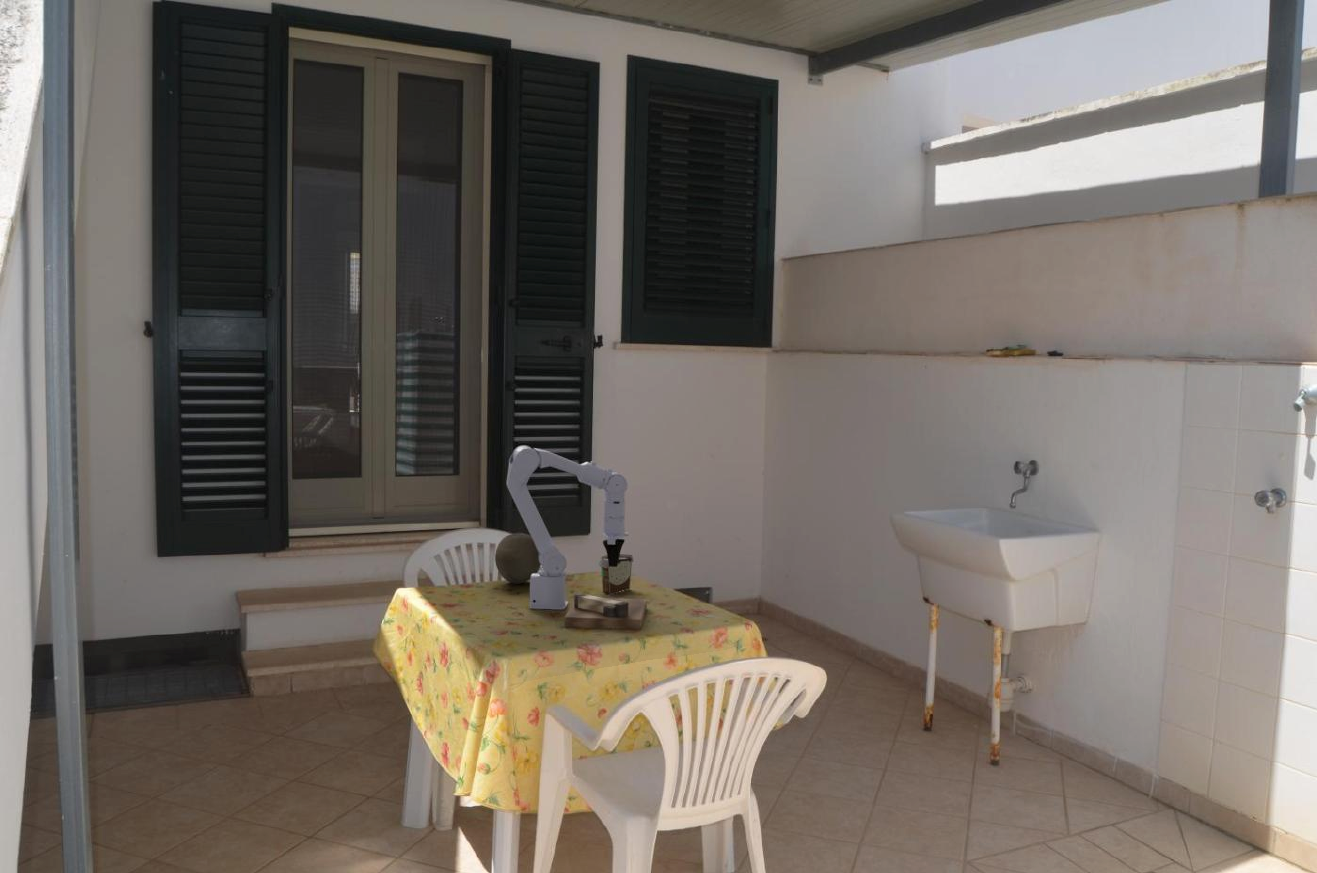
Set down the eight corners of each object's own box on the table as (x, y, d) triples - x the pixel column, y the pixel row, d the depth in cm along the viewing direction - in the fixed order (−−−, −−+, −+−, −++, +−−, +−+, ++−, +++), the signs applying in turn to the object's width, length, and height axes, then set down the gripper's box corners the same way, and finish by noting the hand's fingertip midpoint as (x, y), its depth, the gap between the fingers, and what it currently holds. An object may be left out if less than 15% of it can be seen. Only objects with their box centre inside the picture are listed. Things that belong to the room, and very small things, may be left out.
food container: (616, 585, 313) (616, 552, 312) (632, 588, 309) (633, 554, 309) (589, 592, 303) (590, 558, 302) (606, 596, 299) (607, 561, 299)
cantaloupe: (487, 581, 315) (487, 531, 314) (531, 577, 322) (532, 528, 321) (504, 591, 303) (505, 539, 302) (550, 586, 310) (550, 535, 309)
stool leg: (571, 606, 275) (571, 594, 275) (580, 604, 278) (580, 592, 277) (619, 617, 265) (620, 604, 265) (628, 615, 267) (628, 602, 267)
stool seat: (564, 627, 265) (564, 607, 264) (576, 606, 287) (576, 588, 286) (640, 629, 264) (640, 610, 263) (646, 608, 286) (646, 590, 285)
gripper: (626, 521, 281) (625, 572, 282) (631, 513, 295) (630, 561, 296) (600, 520, 281) (599, 571, 282) (605, 512, 296) (605, 560, 297)
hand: (613, 566), depth 289 cm, fingers closed
